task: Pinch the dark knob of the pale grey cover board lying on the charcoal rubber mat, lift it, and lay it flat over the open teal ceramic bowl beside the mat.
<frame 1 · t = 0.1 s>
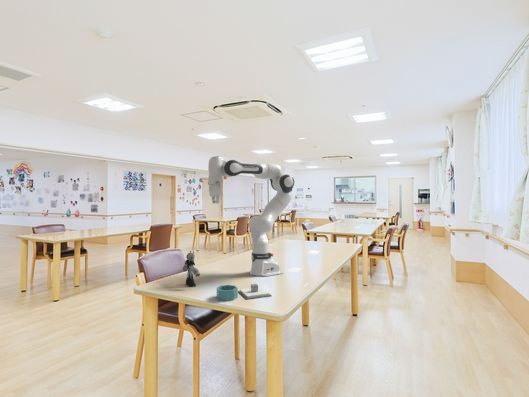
hand: (215, 203, 195), 48 cm above the table, tool pointing down, fingers open, 8 cm apart
bowl: (227, 297, 156), on the table
robot: (190, 285, 179), on the table
cover sheet: (254, 288, 162), on the mat
mat: (254, 293, 162), on the table
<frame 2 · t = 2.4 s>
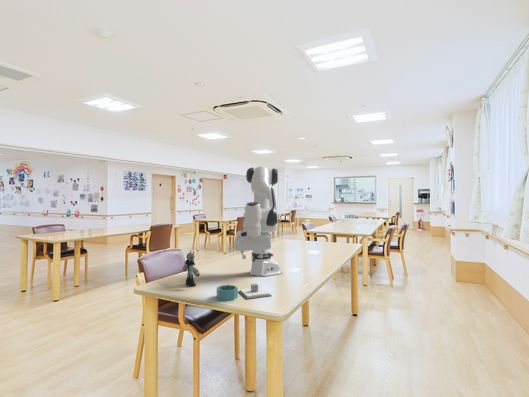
hand: (252, 258, 163), 19 cm above the table, tool pointing down, fingers open, 8 cm apart
nothing on the table moved.
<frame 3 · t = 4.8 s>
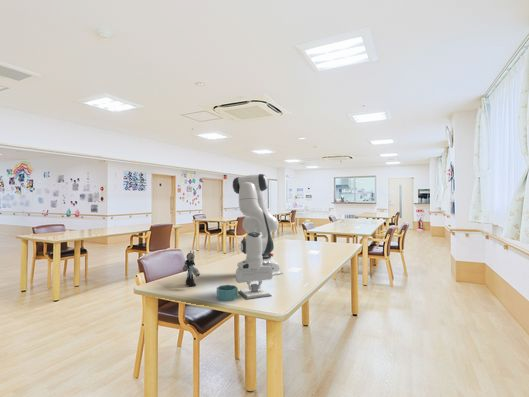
hand: (254, 289, 162), 2 cm above the table, tool pointing down, fingers closed on cover sheet, 3 cm apart
cover sheet: (254, 288, 162), on the mat, touching gripper
everything else where it was.
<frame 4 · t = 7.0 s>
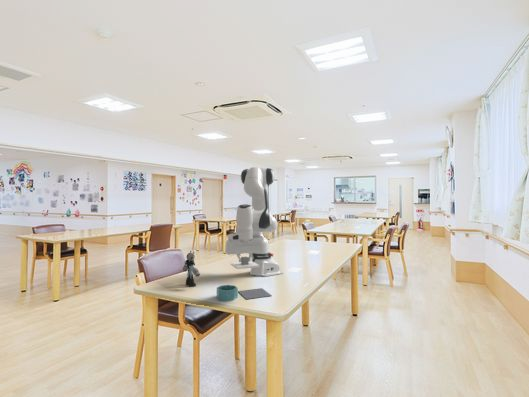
hand: (244, 261, 160), 18 cm above the table, tool pointing down, fingers closed on cover sheet, 3 cm apart
cover sheet: (244, 261, 160), point 18 cm above the table, touching gripper
everything else where it was.
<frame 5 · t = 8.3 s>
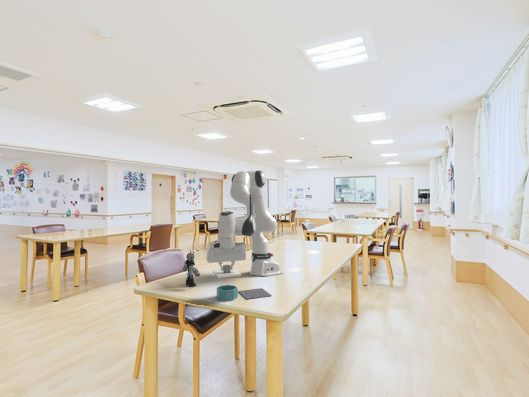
hand: (226, 270, 156), 14 cm above the table, tool pointing down, fingers closed on cover sheet, 3 cm apart
cover sheet: (226, 269, 156), point 14 cm above the table, touching gripper
everything else where it was.
when the fingers open (9 cm above the table, at t = 9.4 s): cover sheet drops 2 cm, resting on bowl.
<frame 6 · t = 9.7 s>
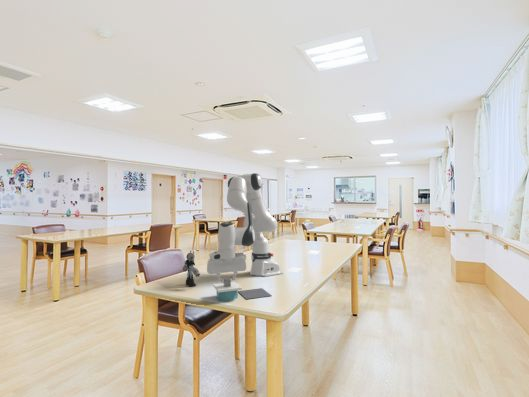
hand: (227, 280, 156), 9 cm above the table, tool pointing down, fingers open, 5 cm apart
bowl: (227, 297, 156), on the table, touching cover sheet
cover sheet: (227, 283, 156), on the bowl, point 7 cm above the table
everything else where it was.
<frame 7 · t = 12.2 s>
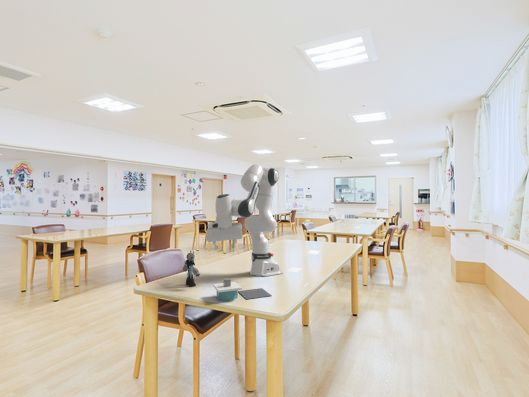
hand: (224, 248, 169), 23 cm above the table, tool pointing down, fingers open, 8 cm apart
nothing on the table moved.
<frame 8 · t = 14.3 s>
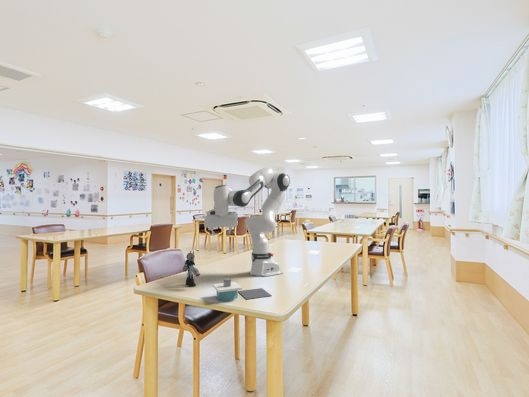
hand: (221, 234, 184), 29 cm above the table, tool pointing down, fingers open, 8 cm apart
nothing on the table moved.
at the end: cover sheet 0.0 cm off-centre on the bowl, point 7.2 cm above the bowl's base; cover sheet tilted 0°; the gripper is holding nothing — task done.
